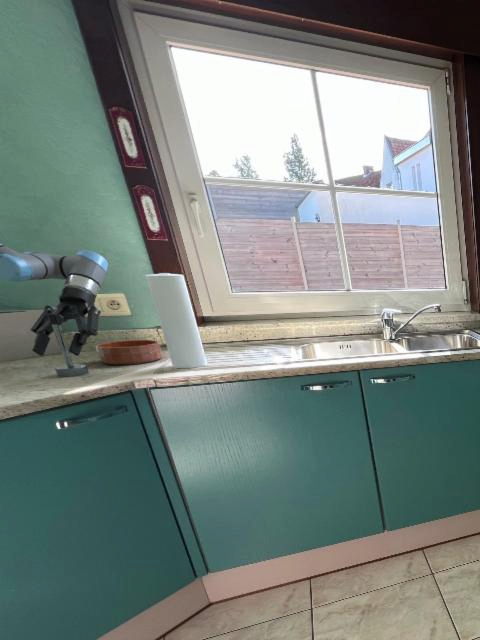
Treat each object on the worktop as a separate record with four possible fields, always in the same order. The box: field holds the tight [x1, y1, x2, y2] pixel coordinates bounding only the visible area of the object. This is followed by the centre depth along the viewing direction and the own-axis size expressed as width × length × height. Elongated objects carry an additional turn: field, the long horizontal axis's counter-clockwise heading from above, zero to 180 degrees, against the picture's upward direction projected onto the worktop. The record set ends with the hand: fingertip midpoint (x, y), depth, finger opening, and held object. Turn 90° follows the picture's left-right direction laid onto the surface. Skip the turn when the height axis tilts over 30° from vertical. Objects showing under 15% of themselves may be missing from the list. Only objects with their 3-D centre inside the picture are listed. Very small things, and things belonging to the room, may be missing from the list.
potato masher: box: [47, 314, 90, 378], centre depth 150 cm, size 7×7×18 cm
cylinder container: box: [145, 272, 208, 369], centre depth 163 cm, size 9×9×30 cm
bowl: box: [95, 339, 164, 366], centre depth 172 cm, size 16×16×6 cm
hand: (55, 353), depth 148 cm, fingers open, 9 cm apart
